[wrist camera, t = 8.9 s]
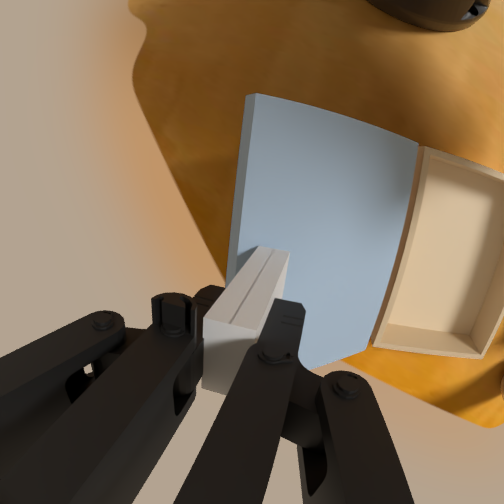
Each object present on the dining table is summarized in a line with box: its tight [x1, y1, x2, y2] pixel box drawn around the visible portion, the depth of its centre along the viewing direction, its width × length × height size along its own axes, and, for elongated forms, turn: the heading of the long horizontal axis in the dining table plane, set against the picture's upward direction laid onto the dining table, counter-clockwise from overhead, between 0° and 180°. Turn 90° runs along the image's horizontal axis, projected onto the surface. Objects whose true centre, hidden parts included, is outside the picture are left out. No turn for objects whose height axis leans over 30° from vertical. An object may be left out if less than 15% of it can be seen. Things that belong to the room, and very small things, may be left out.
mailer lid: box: [225, 93, 419, 370], centre depth 17 cm, size 16×12×1 cm
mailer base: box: [371, 146, 504, 359], centre depth 20 cm, size 16×12×4 cm
